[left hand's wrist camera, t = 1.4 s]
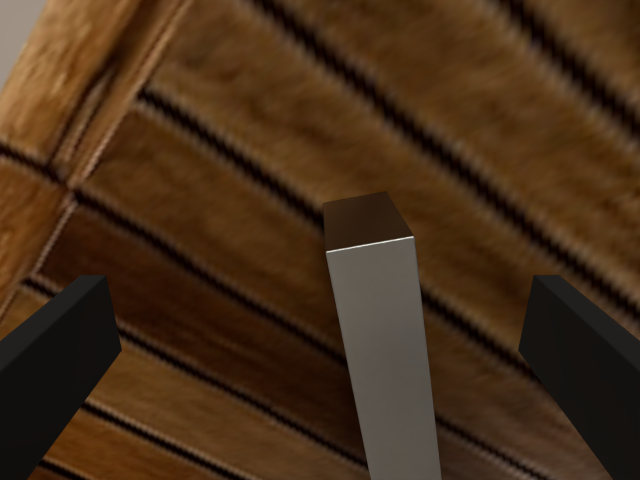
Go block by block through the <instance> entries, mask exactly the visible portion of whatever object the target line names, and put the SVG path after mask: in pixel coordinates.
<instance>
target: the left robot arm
mask: <svg viewBox="0 0 640 480" xmlns="http://www.w3.org/2000/svg"><path fill="white" fill-rule="evenodd" d="M121 351H122V349H121V344H120V339H119V334H118V330H117V325H116V320H115V315H114V311H113V306H112V301H111V296H110V292H109V287H108V282H107V277H106V275H81V276H80V277H78V278H77V279H76V280H75V281H73V282H72V283H71V284H70V285H68V286H67V287H66V288H65V289H64V290H62V291H61V292H60V293H59V294H57V295H56V296H55V297H54V298H53V299H51V300H50V301H49V302H48V303H46V304H45V305H44V306H43V307H41V308H40V309H39V310H38V311H37V312H35V313H34V314H33V315H32V316H30V317H29V318H28V319H27V320H25V321H24V322H23V323H22V324H21V325H19V326H18V327H17V328H16V329H14V330H13V331H12V332H11V333H9V334H8V335H7V336H6V337H5V338H3V339H2V340H1V341H0V480H27V478H28V477H29V476H30V474H31V473H32V472H33V470H34V469H35V468H36V466H37V465H38V464H39V462H40V461H41V459H42V458H43V457H44V455H45V454H46V453H47V451H48V450H49V449H50V447H51V446H52V444H53V443H54V442H55V440H56V439H57V438H58V436H59V435H60V434H61V432H62V431H63V430H64V428H65V427H66V425H67V424H68V423H69V421H70V420H71V419H72V417H73V416H74V415H75V413H76V412H77V411H78V409H79V408H80V406H81V405H82V404H83V402H84V401H85V400H86V398H87V397H88V396H89V394H90V393H91V391H92V390H93V389H94V387H95V386H96V385H97V383H98V382H99V381H100V379H101V378H102V377H103V375H104V374H105V372H106V371H107V370H108V368H109V367H110V366H111V364H112V363H113V362H114V360H115V359H116V358H117V356H118V355H119V353H120V352H121ZM518 351H519V352H520V353H521V355H522V356H523V358H524V359H525V360H526V362H527V363H528V364H529V366H530V367H531V368H532V370H533V371H534V372H535V374H536V375H537V377H538V378H539V379H540V381H541V382H542V383H543V385H544V386H545V387H546V389H547V390H548V391H549V393H550V394H551V396H552V397H553V398H554V400H555V401H556V402H557V404H558V405H559V406H560V408H561V409H562V411H563V412H564V413H565V415H566V416H567V417H568V419H569V420H570V421H571V423H572V424H573V425H574V427H575V428H576V430H577V431H578V432H579V434H580V435H581V436H582V438H583V439H584V440H585V442H586V443H587V444H588V446H589V447H590V449H591V450H592V451H593V453H594V454H595V455H596V457H597V458H598V459H599V461H600V462H601V464H602V465H603V466H604V468H605V469H606V470H607V472H608V473H609V474H610V476H611V477H612V478H613V480H640V341H639V340H638V339H637V338H635V337H634V336H633V335H632V334H631V333H629V332H628V331H627V330H626V329H624V328H623V327H622V326H621V325H619V324H618V323H617V322H616V321H615V320H613V319H612V318H611V317H610V316H608V315H607V314H606V313H605V312H603V311H602V310H601V309H600V308H599V307H597V306H596V305H595V304H594V303H592V302H591V301H590V300H589V299H587V298H586V297H585V296H584V295H583V294H581V293H580V292H579V291H578V290H576V289H575V288H574V287H573V286H572V285H570V284H569V283H568V282H567V281H565V280H564V279H563V278H562V277H560V276H559V275H534V277H533V282H532V287H531V292H530V296H529V301H528V306H527V311H526V315H525V320H524V325H523V330H522V334H521V339H520V344H519V349H518Z"/></svg>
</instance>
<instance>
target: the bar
mask: <svg viewBox="0 0 640 480" xmlns="http://www.w3.org/2000/svg"><path fill="white" fill-rule="evenodd" d="M323 215H324V235H325V253H326V258H327V263H328V268H329V273H330V278H331V283H332V288H333V293H334V298H335V303H336V308H337V313H338V318H339V323H340V328H341V333H342V338H343V343H344V348H345V353H346V358H347V363H348V368H349V373H350V378H351V383H352V388H353V393H354V398H355V403H356V408H357V413H358V418H359V423H360V428H361V433H362V438H363V443H364V448H365V453H366V458H367V463H368V468H369V473H370V478H371V480H442V479H441V470H440V461H439V452H438V443H437V435H436V426H435V417H434V408H433V399H432V390H431V381H430V372H429V363H428V354H427V345H426V336H425V327H424V318H423V309H422V300H421V291H420V282H419V273H418V264H417V255H416V246H415V237H414V235H413V234H412V232H411V230H410V229H409V227H408V226H407V224H406V222H405V221H404V219H403V218H402V216H401V214H400V213H399V211H398V210H397V208H396V206H395V205H394V203H393V202H392V200H391V198H390V197H389V195H388V194H387V192H381V193H375V194H370V195H364V196H359V197H353V198H348V199H343V200H337V201H332V202H326V203H323Z"/></svg>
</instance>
